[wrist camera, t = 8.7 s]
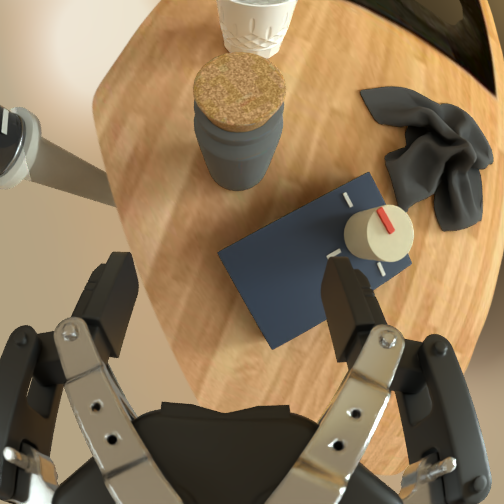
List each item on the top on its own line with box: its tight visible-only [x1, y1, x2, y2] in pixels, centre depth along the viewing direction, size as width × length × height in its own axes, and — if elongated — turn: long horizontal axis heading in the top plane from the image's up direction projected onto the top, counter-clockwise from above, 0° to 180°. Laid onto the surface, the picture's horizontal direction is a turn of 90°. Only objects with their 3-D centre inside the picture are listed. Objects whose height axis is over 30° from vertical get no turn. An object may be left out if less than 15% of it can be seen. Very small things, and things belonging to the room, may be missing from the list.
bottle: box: [193, 52, 286, 191], centre depth 21 cm, size 6×6×15 cm
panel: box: [218, 172, 412, 350], centre depth 27 cm, size 17×10×3 cm, turn 119°
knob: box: [344, 205, 414, 262], centre depth 23 cm, size 4×4×5 cm
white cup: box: [216, 0, 297, 59], centre depth 23 cm, size 8×8×10 cm
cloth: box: [360, 87, 493, 231], centre depth 26 cm, size 22×19×6 cm
